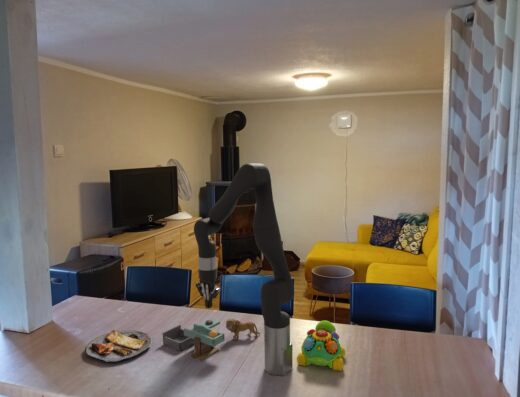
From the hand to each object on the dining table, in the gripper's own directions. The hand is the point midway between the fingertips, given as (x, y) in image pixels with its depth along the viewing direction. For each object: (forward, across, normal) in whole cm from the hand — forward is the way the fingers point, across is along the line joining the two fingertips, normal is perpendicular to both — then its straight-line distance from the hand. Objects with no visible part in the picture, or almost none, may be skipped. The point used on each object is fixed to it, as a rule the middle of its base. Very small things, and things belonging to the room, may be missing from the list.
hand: (208, 307), depth 169 cm
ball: (+5, -11, +9) cm, 15 cm away
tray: (+14, +8, +9) cm, 19 cm away
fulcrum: (+14, -6, +9) cm, 18 cm away
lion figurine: (+14, -10, -10) cm, 20 cm away
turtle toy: (+14, -44, -15) cm, 49 cm away
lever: (+8, -6, +4) cm, 10 cm away
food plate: (+15, +25, +26) cm, 39 cm away
